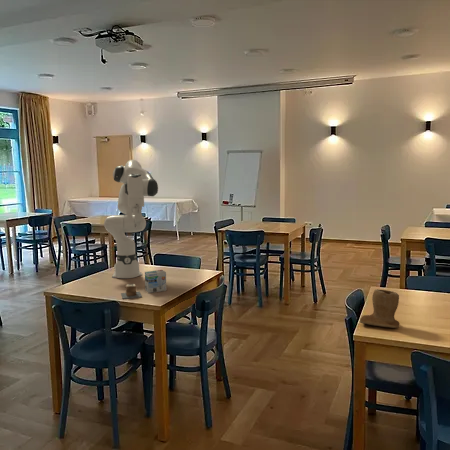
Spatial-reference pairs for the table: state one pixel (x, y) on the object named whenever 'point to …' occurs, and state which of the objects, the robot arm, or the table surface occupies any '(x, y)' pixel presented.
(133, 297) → the slate mat
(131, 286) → the lettered cube
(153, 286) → the light bulb box
